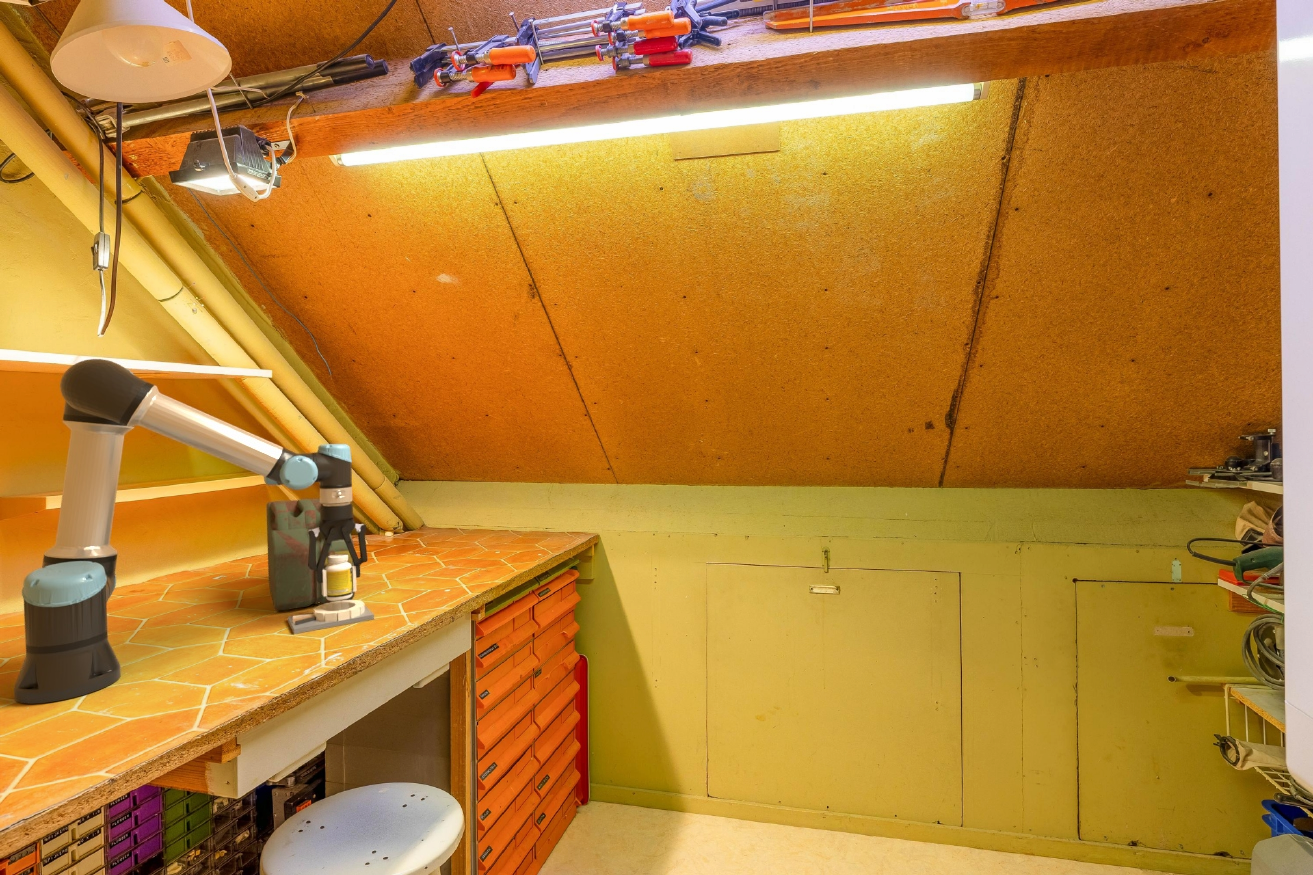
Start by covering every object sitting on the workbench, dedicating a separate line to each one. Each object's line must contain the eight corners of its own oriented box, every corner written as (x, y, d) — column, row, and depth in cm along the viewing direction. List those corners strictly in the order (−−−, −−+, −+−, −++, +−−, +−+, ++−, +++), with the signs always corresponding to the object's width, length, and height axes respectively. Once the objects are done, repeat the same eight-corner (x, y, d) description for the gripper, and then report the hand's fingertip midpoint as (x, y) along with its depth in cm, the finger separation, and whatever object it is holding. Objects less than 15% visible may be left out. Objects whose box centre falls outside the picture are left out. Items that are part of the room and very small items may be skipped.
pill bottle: (356, 597, 163) (355, 555, 162) (331, 602, 158) (330, 559, 158) (347, 592, 167) (345, 551, 167) (322, 598, 162) (320, 555, 162)
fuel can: (275, 616, 166) (272, 513, 165) (268, 586, 195) (266, 499, 194) (355, 603, 177) (353, 507, 176) (337, 577, 206) (335, 494, 205)
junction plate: (294, 634, 151) (293, 620, 151) (287, 621, 161) (287, 609, 161) (374, 619, 162) (373, 606, 162) (363, 608, 172) (363, 596, 172)
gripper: (295, 509, 153) (299, 602, 154) (379, 501, 164) (382, 589, 165) (291, 505, 159) (294, 596, 160) (372, 499, 170) (375, 583, 171)
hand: (339, 592), depth 163 cm, fingers closed on pill bottle, 6 cm apart
